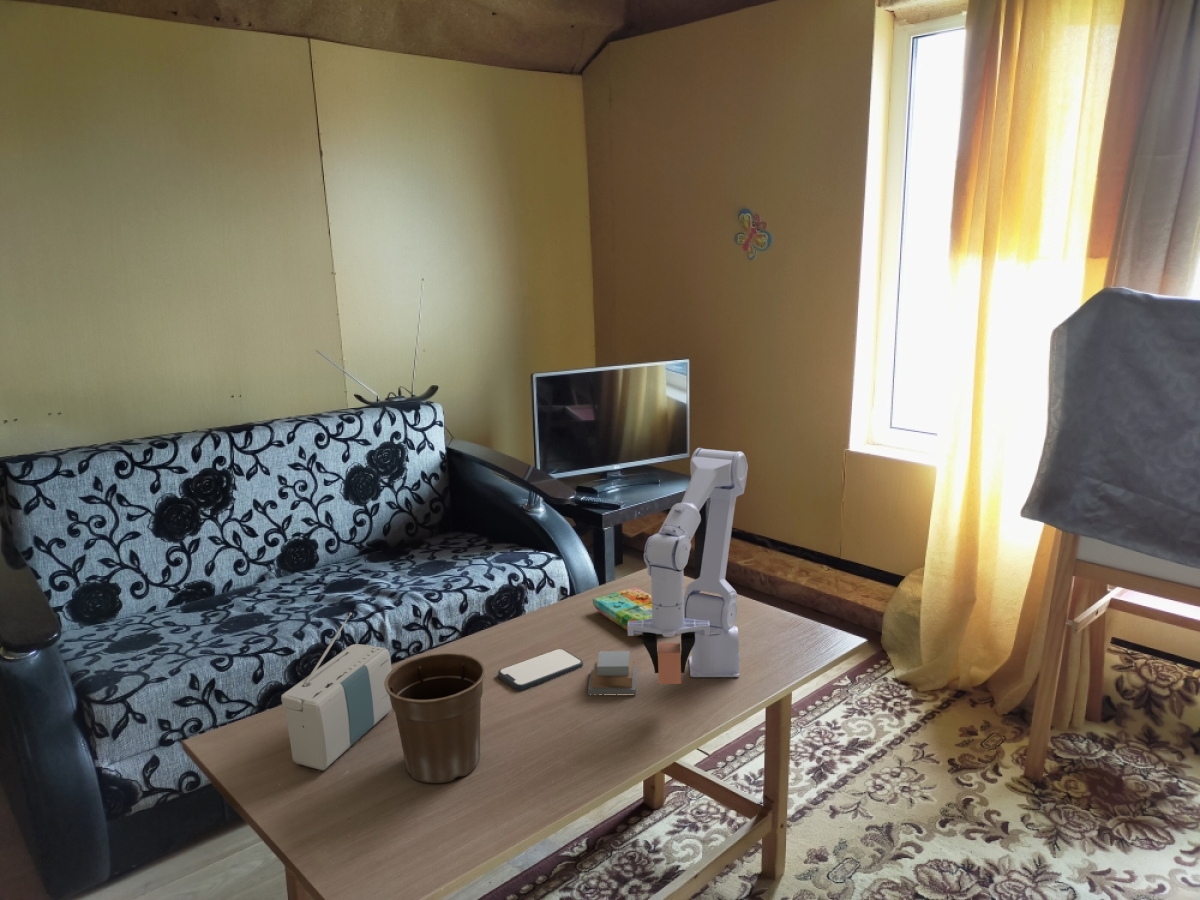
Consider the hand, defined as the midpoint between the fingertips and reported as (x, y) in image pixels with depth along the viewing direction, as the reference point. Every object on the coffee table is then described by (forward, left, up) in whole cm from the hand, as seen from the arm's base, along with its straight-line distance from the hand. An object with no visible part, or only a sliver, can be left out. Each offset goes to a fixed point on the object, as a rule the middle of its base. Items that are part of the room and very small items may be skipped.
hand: (669, 670), depth 152 cm
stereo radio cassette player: (+58, +9, -8) cm, 59 cm away
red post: (0, 0, -2) cm, 2 cm away
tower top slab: (+11, -10, -5) cm, 15 cm away
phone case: (+26, -15, -9) cm, 31 cm away
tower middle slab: (+11, -10, -7) cm, 16 cm away
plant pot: (+38, +16, -8) cm, 42 cm away
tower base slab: (+11, -10, -9) cm, 17 cm away
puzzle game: (+7, -38, -9) cm, 39 cm away
